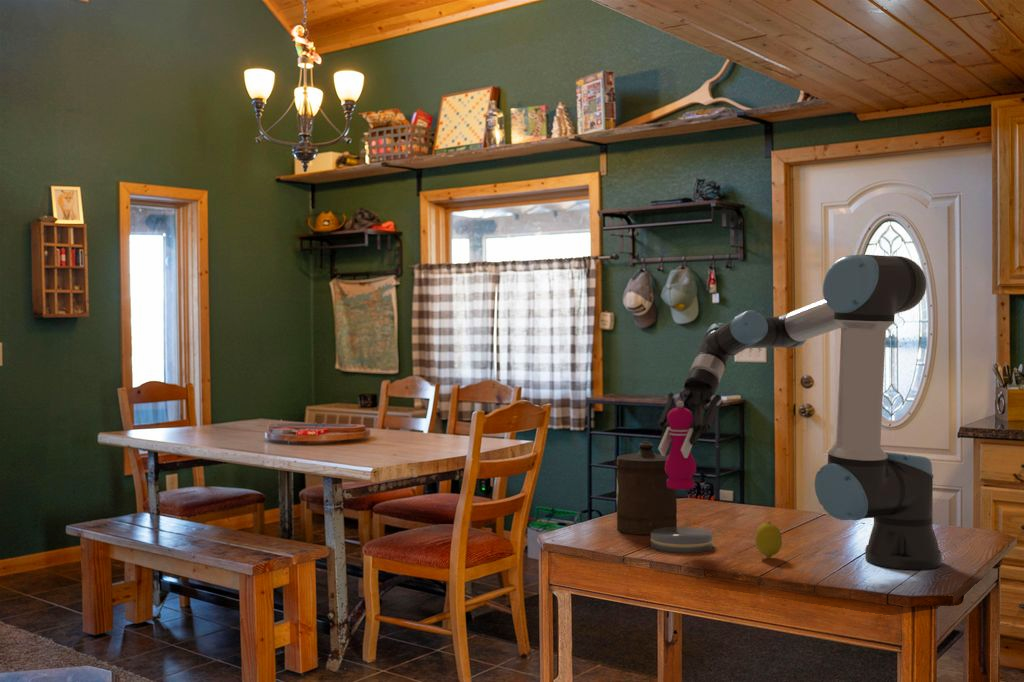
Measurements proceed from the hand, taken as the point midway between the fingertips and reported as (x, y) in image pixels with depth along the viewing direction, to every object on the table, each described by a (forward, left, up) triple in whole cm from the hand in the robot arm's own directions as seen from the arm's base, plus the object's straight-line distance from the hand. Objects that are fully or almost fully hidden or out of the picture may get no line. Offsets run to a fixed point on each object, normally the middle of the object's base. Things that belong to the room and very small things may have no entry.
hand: (672, 453), depth 223 cm
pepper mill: (+2, -3, -8) cm, 9 cm away
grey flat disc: (+2, -3, -22) cm, 22 cm away
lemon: (-16, -14, -22) cm, 31 cm away
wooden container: (+22, -5, -22) cm, 31 cm away
